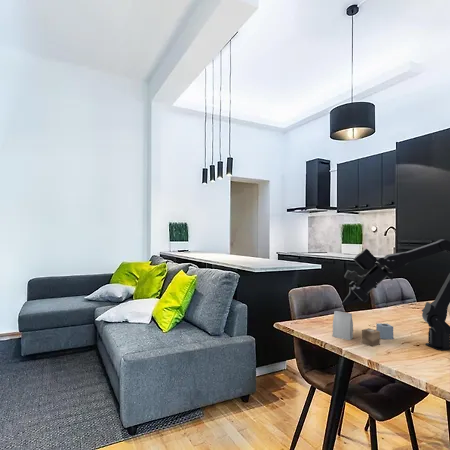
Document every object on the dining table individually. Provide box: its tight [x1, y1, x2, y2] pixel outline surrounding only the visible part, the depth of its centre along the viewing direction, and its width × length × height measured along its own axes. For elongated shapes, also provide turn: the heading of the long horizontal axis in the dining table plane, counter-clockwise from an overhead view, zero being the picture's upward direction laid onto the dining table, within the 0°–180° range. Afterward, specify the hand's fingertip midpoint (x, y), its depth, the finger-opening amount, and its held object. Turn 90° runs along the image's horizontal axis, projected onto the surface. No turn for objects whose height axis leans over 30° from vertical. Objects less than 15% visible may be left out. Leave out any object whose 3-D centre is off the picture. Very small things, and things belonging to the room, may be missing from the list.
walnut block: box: [361, 328, 381, 347], centre depth 123 cm, size 4×4×5 cm
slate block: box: [375, 323, 394, 340], centre depth 131 cm, size 4×4×5 cm
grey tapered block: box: [332, 310, 354, 341], centre depth 130 cm, size 4×7×10 cm, turn 51°
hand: (342, 304), depth 131 cm, fingers closed
